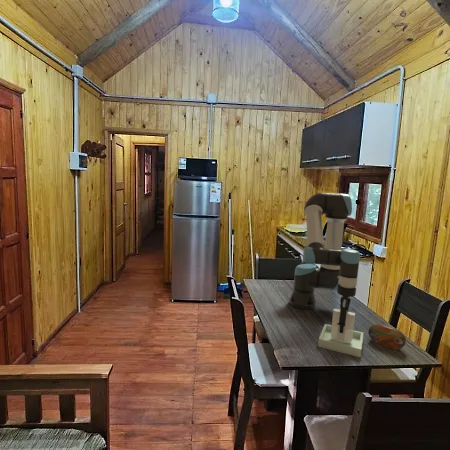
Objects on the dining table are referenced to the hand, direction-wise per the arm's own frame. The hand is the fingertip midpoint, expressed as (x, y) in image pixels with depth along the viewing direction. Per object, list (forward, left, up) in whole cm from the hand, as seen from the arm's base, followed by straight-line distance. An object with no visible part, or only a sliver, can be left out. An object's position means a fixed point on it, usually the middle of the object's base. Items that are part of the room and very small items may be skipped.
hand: (341, 334), depth 142 cm
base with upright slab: (0, 0, -2) cm, 2 cm away
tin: (-9, +18, -4) cm, 21 cm away
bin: (0, 0, -4) cm, 4 cm away
